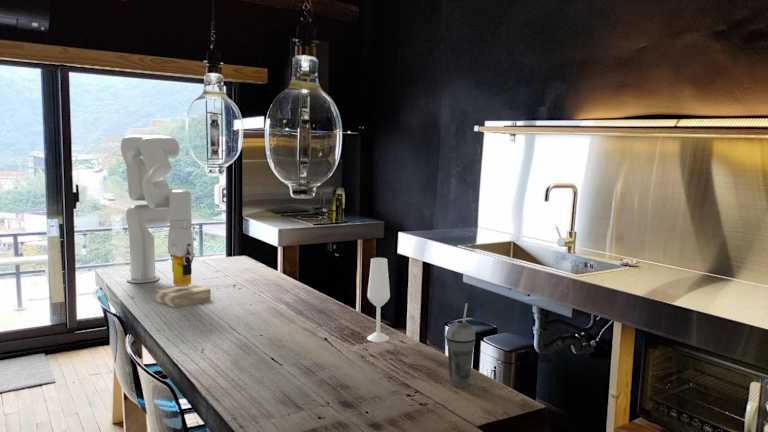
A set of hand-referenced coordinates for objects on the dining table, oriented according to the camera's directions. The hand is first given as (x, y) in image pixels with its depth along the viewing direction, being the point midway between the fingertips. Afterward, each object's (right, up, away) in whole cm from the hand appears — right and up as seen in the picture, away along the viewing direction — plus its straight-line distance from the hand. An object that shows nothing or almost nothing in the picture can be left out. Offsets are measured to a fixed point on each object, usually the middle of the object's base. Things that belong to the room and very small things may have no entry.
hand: (182, 272), depth 209 cm
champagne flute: (+72, -16, -37) cm, 82 cm away
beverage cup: (+92, -20, -69) cm, 117 cm away
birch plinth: (0, -10, +1) cm, 10 cm away
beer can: (0, -5, +1) cm, 5 cm away
